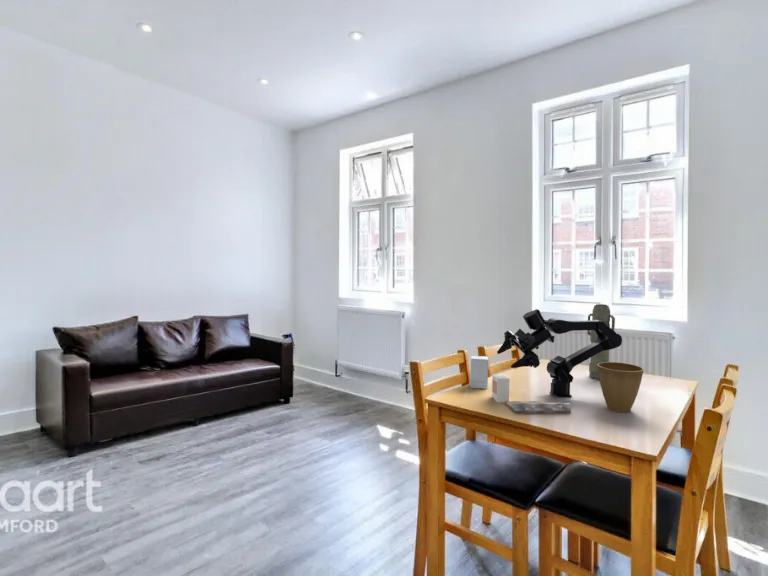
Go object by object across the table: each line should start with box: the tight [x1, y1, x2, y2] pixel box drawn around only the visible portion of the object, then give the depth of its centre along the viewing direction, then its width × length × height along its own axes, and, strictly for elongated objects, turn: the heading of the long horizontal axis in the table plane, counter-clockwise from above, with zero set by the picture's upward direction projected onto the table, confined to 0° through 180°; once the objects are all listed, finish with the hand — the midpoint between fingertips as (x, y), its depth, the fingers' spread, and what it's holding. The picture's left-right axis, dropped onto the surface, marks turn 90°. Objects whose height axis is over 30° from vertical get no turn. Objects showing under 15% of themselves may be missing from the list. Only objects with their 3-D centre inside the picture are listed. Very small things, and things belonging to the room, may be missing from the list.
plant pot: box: [598, 361, 644, 413], centre depth 163 cm, size 15×15×16 cm
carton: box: [491, 374, 510, 403], centre depth 174 cm, size 4×7×9 cm, turn 3°
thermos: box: [586, 303, 616, 380], centre depth 213 cm, size 9×12×35 cm
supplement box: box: [469, 355, 489, 390], centre depth 194 cm, size 7×7×13 cm
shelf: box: [503, 400, 572, 414], centre depth 164 cm, size 20×12×3 cm, turn 93°
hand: (504, 359), depth 178 cm, fingers open, 9 cm apart
